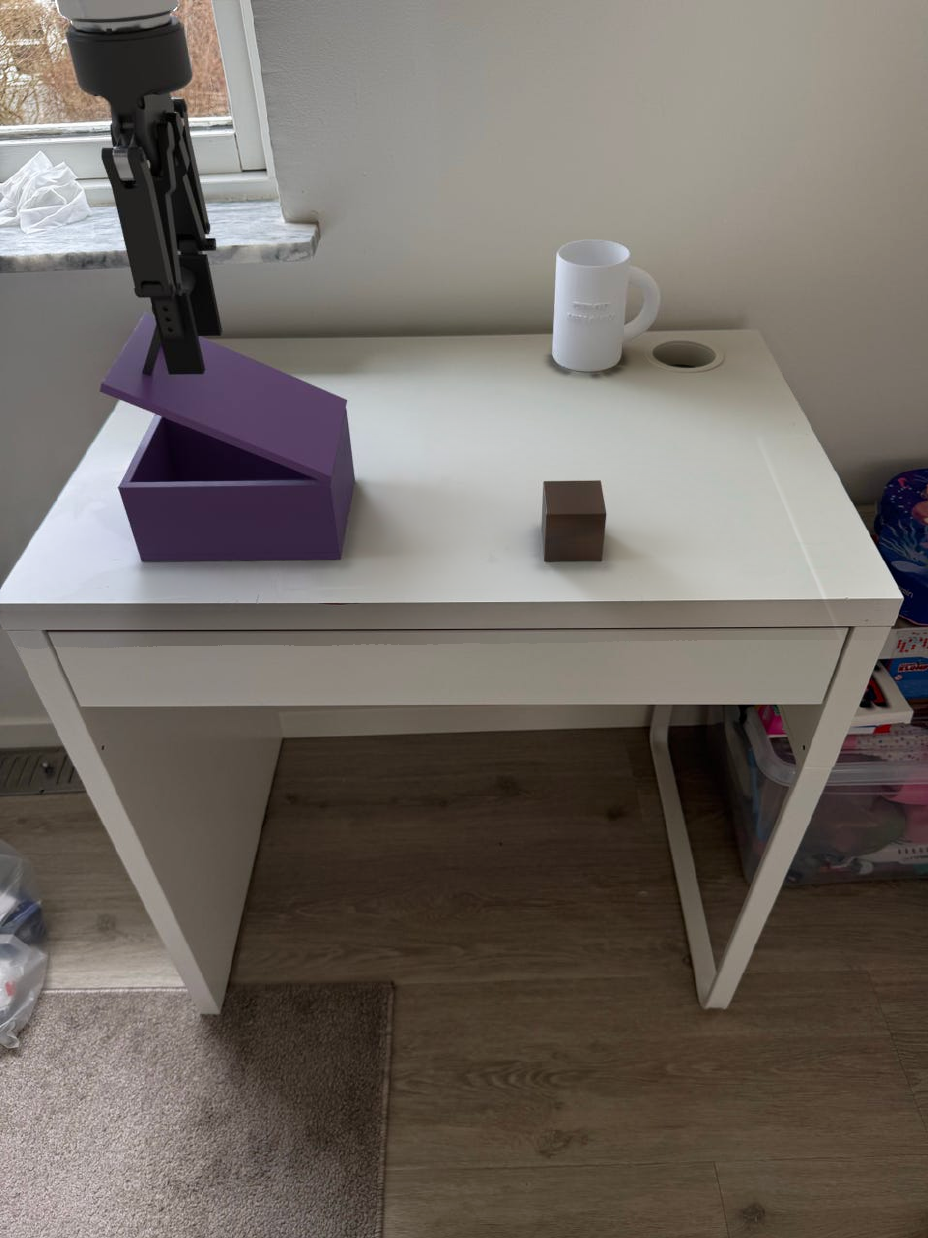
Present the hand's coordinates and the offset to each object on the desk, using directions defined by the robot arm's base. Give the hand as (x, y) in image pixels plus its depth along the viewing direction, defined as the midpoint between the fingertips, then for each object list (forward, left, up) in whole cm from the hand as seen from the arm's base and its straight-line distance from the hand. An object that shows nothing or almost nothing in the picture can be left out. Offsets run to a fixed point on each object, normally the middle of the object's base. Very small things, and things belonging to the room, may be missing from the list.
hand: (196, 351), depth 76 cm
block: (+30, +10, -17) cm, 35 cm away
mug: (+20, +45, -17) cm, 51 cm away
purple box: (+2, +1, -17) cm, 17 cm away
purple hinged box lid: (+2, +1, -4) cm, 5 cm away
